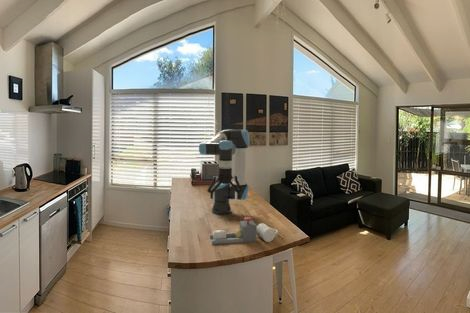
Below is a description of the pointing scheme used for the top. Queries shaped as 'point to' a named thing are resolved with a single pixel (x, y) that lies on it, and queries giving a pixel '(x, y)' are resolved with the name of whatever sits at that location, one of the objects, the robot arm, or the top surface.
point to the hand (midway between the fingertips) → (224, 203)
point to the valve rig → (239, 233)
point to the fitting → (219, 234)
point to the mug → (266, 232)
